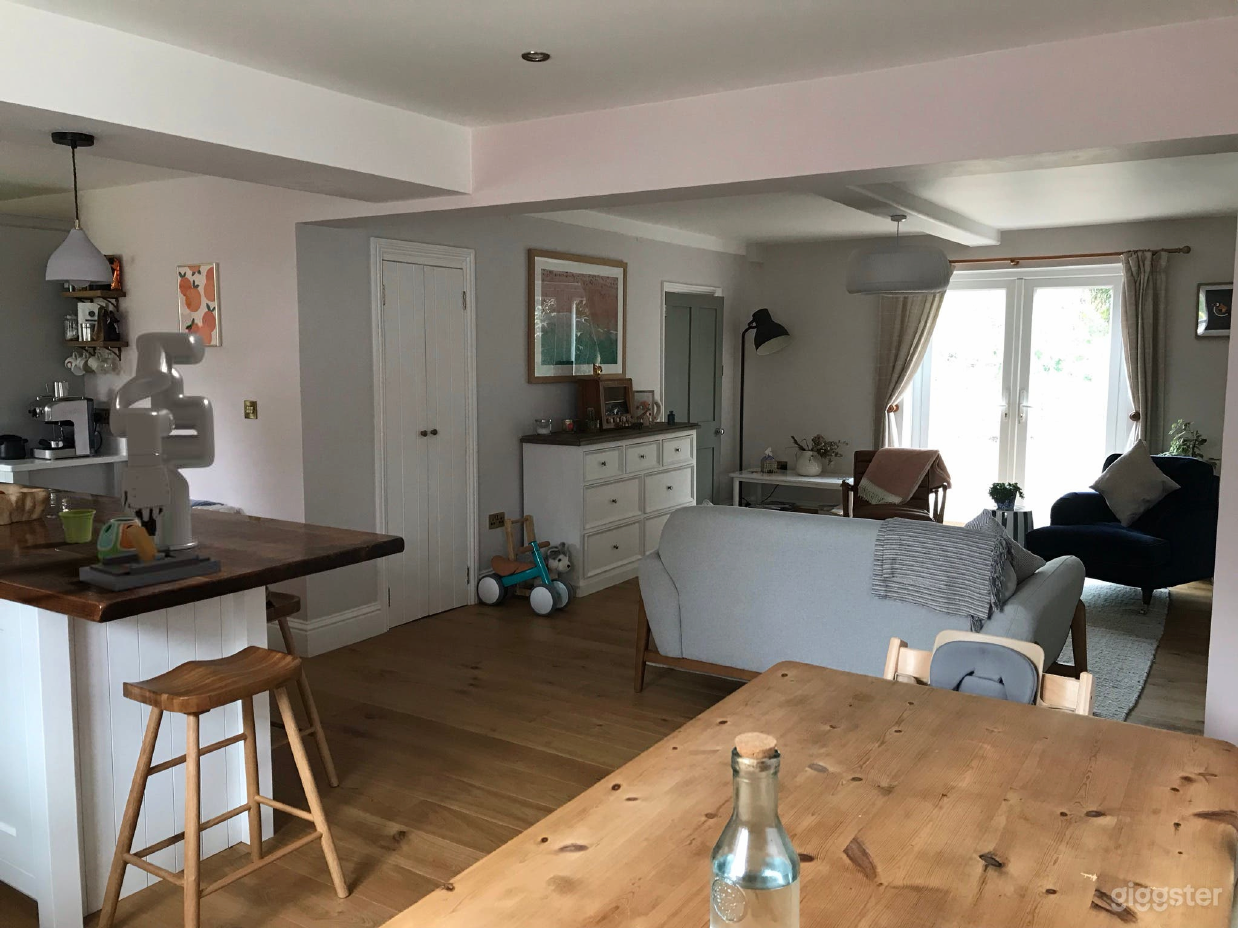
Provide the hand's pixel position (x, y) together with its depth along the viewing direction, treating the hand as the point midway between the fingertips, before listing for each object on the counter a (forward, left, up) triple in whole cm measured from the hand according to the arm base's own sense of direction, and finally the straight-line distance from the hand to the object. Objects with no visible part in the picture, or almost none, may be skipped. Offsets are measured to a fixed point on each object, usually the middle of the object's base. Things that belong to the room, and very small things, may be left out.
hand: (149, 535), depth 240 cm
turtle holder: (-19, +2, -10) cm, 22 cm away
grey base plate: (0, 0, -10) cm, 10 cm away
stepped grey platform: (0, 0, -7) cm, 7 cm away
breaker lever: (0, 0, -6) cm, 6 cm away
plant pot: (-60, +9, -10) cm, 62 cm away
